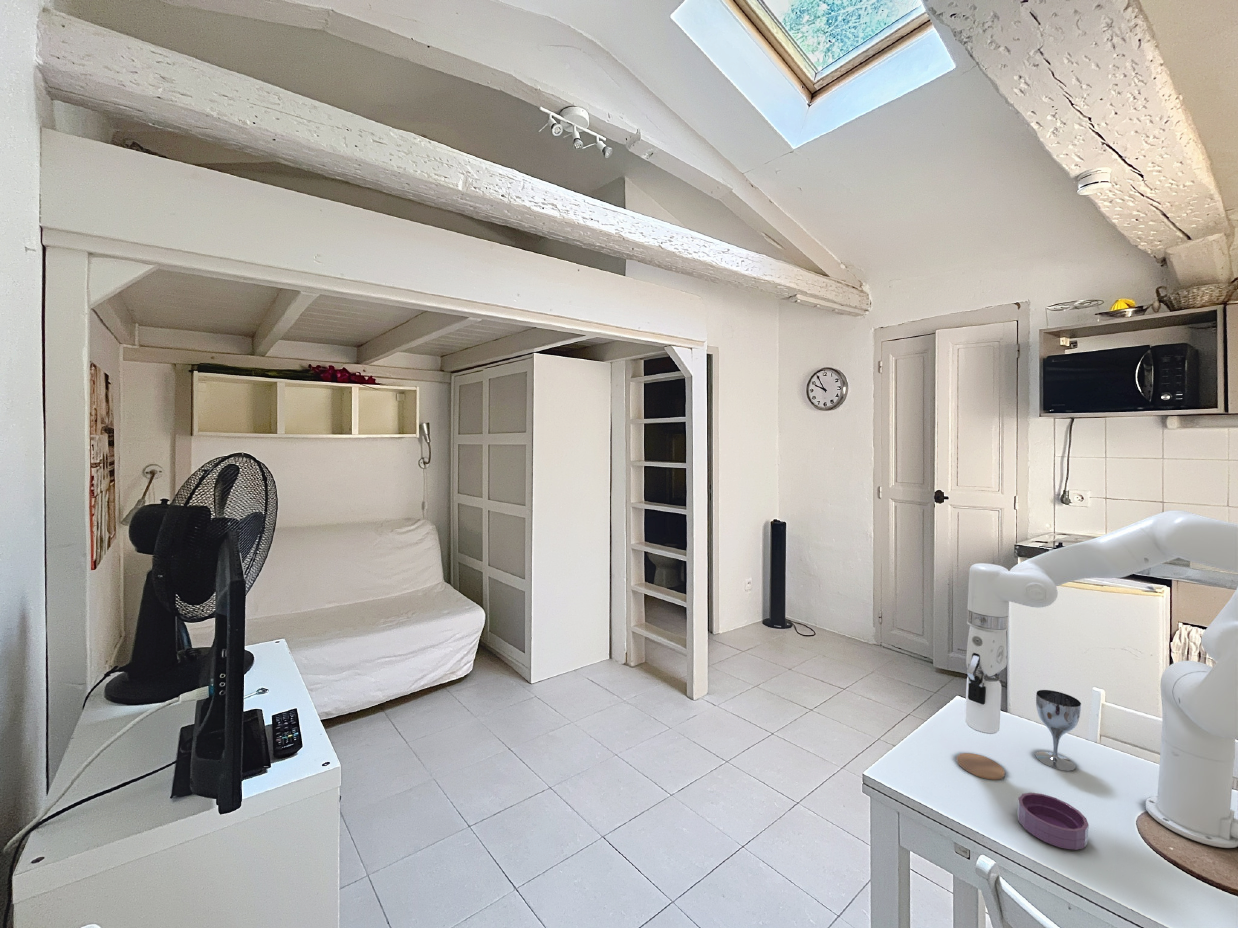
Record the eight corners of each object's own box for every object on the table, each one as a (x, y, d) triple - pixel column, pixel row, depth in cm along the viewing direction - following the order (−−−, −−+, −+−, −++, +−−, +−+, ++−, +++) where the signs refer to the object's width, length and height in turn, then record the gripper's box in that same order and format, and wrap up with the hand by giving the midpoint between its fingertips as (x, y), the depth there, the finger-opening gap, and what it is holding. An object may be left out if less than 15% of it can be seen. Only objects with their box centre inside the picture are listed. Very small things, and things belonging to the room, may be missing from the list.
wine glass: (1073, 757, 123) (1077, 695, 122) (1080, 775, 116) (1084, 710, 116) (1031, 746, 127) (1034, 686, 127) (1035, 763, 121) (1038, 700, 120)
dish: (1094, 835, 99) (1095, 815, 99) (1077, 860, 93) (1078, 839, 93) (1028, 804, 107) (1029, 785, 107) (1009, 825, 101) (1010, 805, 101)
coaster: (1011, 769, 118) (1011, 768, 118) (995, 784, 113) (995, 783, 113) (966, 750, 126) (966, 748, 126) (949, 763, 121) (949, 761, 121)
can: (1005, 736, 115) (1008, 683, 114) (972, 732, 116) (975, 680, 116) (990, 720, 121) (993, 670, 121) (959, 717, 123) (962, 667, 122)
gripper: (990, 632, 110) (986, 715, 111) (1021, 617, 119) (1017, 693, 120) (951, 622, 116) (947, 700, 117) (984, 607, 126) (980, 680, 127)
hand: (983, 696), depth 119 cm, fingers closed on can, 6 cm apart
